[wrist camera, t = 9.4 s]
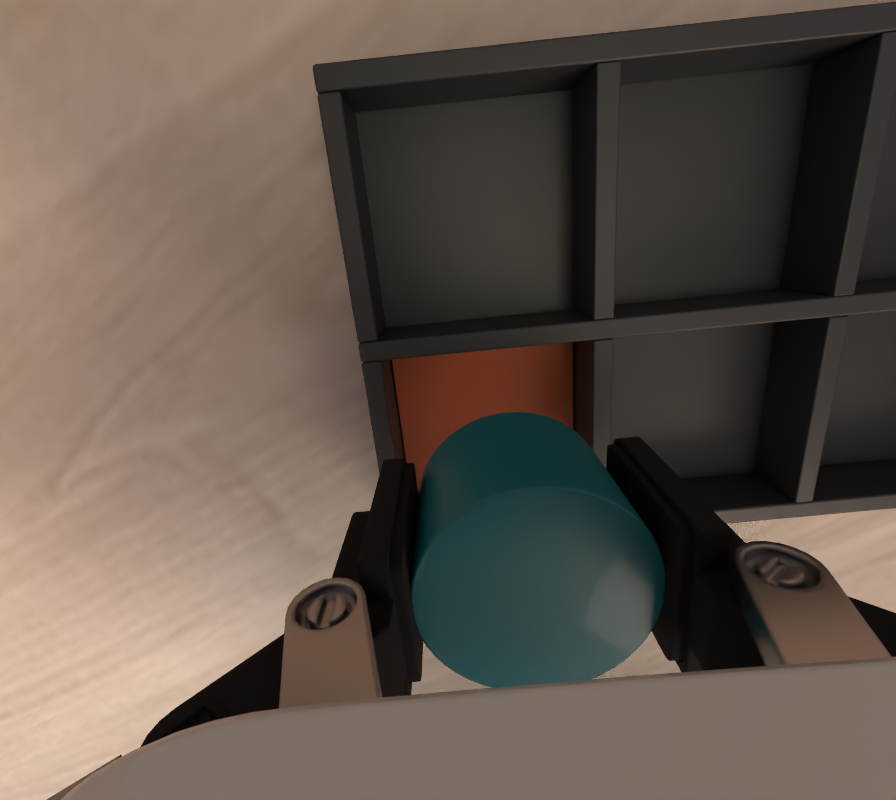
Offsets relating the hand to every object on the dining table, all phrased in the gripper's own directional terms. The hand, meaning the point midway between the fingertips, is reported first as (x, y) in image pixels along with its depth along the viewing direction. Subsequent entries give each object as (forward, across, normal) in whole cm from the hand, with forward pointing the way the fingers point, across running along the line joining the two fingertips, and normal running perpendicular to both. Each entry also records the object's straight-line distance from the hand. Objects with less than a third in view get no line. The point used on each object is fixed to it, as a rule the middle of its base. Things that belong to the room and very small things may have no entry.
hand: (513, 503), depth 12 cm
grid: (+6, -7, -4) cm, 10 cm away
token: (0, 0, 0) cm, 0 cm away
